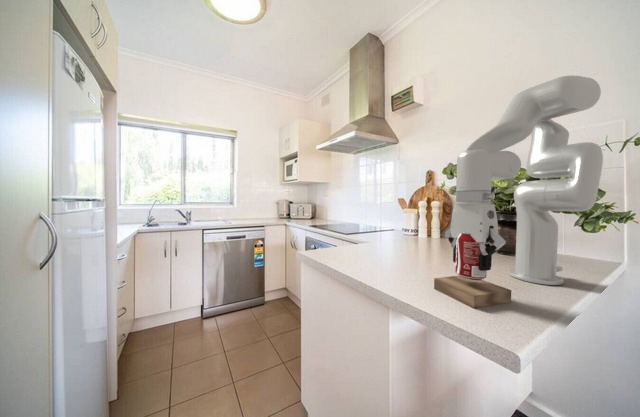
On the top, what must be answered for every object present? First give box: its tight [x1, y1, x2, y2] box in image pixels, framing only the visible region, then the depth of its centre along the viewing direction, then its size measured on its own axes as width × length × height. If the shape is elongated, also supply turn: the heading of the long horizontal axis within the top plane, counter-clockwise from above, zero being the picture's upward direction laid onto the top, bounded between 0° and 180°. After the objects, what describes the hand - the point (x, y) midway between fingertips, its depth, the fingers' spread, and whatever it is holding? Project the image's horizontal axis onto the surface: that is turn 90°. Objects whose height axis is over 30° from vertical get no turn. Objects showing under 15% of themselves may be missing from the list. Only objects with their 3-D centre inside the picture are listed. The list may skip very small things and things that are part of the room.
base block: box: [433, 274, 512, 309], centre depth 59 cm, size 12×12×3 cm
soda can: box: [455, 232, 488, 280], centre depth 58 cm, size 7×7×12 cm
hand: (470, 265), depth 58 cm, fingers closed on soda can, 6 cm apart
